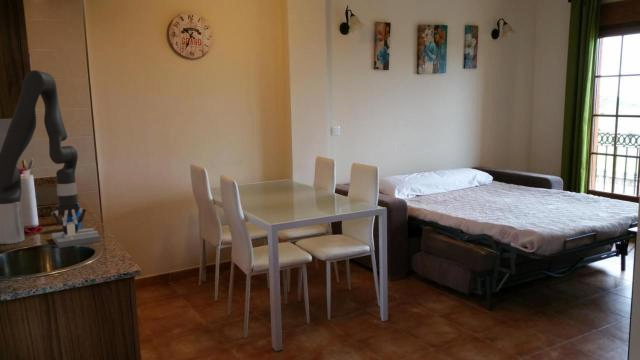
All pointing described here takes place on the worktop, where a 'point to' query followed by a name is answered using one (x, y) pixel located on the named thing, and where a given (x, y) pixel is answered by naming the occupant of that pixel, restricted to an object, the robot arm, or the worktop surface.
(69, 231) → the fader tab
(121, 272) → the worktop surface
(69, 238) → the fader console
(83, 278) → the worktop surface
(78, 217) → the beverage can
